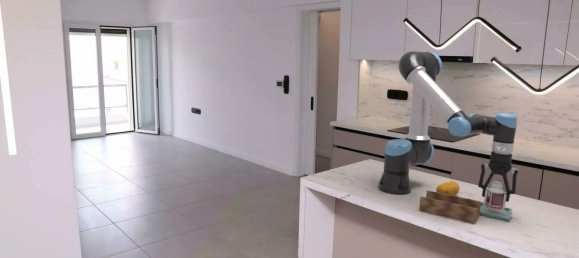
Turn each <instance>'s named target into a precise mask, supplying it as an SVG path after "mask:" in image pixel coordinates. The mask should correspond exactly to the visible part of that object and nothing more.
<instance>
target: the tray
mask: <svg viewBox="0 0 579 258" xmlns="http://www.w3.org/2000/svg"><path fill="white" fill-rule="evenodd" d="M512 214H513V208H511V207H507V206H505V209H504V210H503V209H502V210H501V211H493V210H490V209H487V208H486V206H484V201H483V202H482V201H481V208H480V215H479V216H481V217H484V218H485V217H486V218H490V219H496V220H499V221H503V220H504V222H507V221H508V222H510V220H511V217H512Z"/></svg>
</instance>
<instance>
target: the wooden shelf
mask: <svg viewBox="0 0 579 258" xmlns="http://www.w3.org/2000/svg"><path fill="white" fill-rule="evenodd" d="M425 195H426V196H420V197H419V210H418V211H420V212H423V213H427V214H432V215H435V216H440V217H444V218H449V219H453V220H456V221H461V222H465V223H469V224H474V225H476V223H477V221H478V220H479V218H480V216H481V215H480V208H481V202H482V201H480V200H476V199H471V198H466V197H461V196H457V195H456V196H452V195H448V194H443V193H438V192H436V191H433V190H429V189H427V190H426V194H425Z"/></svg>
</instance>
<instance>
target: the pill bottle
mask: <svg viewBox="0 0 579 258" xmlns="http://www.w3.org/2000/svg"><path fill="white" fill-rule="evenodd" d="M504 187H505V184H504V182H503V183H502V182H500V181H496V180H495V181H490V186H489V187H487V189H488V193H487V201H486V208H487V209H490V210H493V211H501V210H502V207H503V200H504V194H505V192H506V189H504Z"/></svg>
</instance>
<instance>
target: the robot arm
mask: <svg viewBox="0 0 579 258" xmlns="http://www.w3.org/2000/svg"><path fill="white" fill-rule="evenodd" d="M442 62H443V61H442V60H441V57H440V56H439V55H438V54H437V53H434V52H430V51H415V50H414V51H408V52H406V53H404V54H403V55H402V56H401V57H400V58H399V61H398V66H397V67H398V71H399V73H400V75H401V77H402V78H403V79H404V80H405V81H406V83H408V84H410V85H411V84H412V90H411V93H412V94H411V105H410V116H409V117H410V119H409V128H408V133H407V134H406V135H405V137H404V138H399V139H394V138H393V139H390V140H388V141H387V142H386V144H385V148H384V158H383V160H384V163H383V171H382V175H381V177H380V178H379V181H378V186H377V187H378V189H379V190H380V191H381V192H384V193H388V194H393V195H406V194H407V195H408V194H410V193H411V192H412V183H411V179H410V167H414V166H417V165H424V164H426V163H429V162H430V161H431V160H432V158H433V157H434V155H435V154H434V153H435V149H434V147H435V146H434V145H433V143H432V142H431V138H430V136H429V135H428V131H429V130H428V129H429V122H430V121H429V120H430V119H429V118H430V111H431V110H430V108H431V107H433V109H434V110H435V111H436V112H437V113H438V114H439V115H440V117H441V118H442V119H443V120H444V121H445V122H446V123H447V128H448V132H449V133H450V134H451V135H452V136H454V137H467V136H471V135H479V134H480V135H481V134H482V135H487V136H492V145H491V152H490V160H489V162H488V163H484V162H483V163H482V164H481V165H480V168H481V169H480V170H481V172H480V176H479V180H478V181H479V182H478V185H477V186H478V188H481V189H482V191H481V198H482V197H483V198H484V199H483V203H484V206H486V201H487V193H488V186H489V184H490V183H491V182H492V181H491V180H492V179H493V177H494V175H499V176H502V178H503V184H504V187H505V194H504V200H503V207H502V209H503V210H504V209H505V207H506V203H509V201H510V199H511V198H510V197H511V195H514V194H516V192H517V177H518V173H519V171H520V170H519V168H514V167H513V166H512V159H513V154H512V153H513V152H514V146H515V136H516V132H517V128H518V126H517V123H518V117H517V115H515V114H513V113H505V112H501V113H500V112H499V113H497V114H496V115H495V116H488V115H484V114H483V115H482V114H478V113H477V114H473V113H470V114H469V115H467V114H466V113H465V112H464V111H463V109H462V108H460V106H458V105H457V104H456V103H455V102H454V100H453V99H452V98H451V97H450V96H449V95H448V94H447V93H446V92H445V91H444V90H443V89H442V88H441V86H439V84H438V83H436V81H437V76H438V75H440V74H441V72H442V69H443V64H442ZM488 167H489V170H490V171H491V172H490V174H489V176H488V178H487V180H486V181H485V183H484V179H485V174H486V170H487V169H488ZM510 171H511V174H512V183H511V184H512V185H511V187H510V184H509V183H510V182H509V179H508V173H509V172H510ZM510 188H511V189H510Z"/></svg>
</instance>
